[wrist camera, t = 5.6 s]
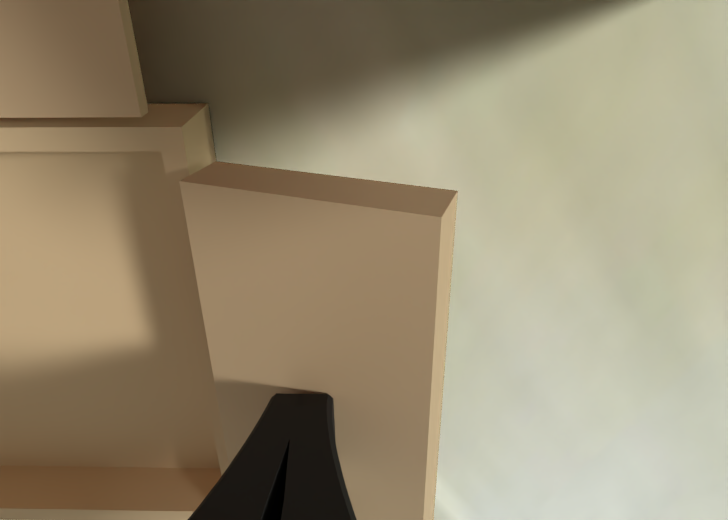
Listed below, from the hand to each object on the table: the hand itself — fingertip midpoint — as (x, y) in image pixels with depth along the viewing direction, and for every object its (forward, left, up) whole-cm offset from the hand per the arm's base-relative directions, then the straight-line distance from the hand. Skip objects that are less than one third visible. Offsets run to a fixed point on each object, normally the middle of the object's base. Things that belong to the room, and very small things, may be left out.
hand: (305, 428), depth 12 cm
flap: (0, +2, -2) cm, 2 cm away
